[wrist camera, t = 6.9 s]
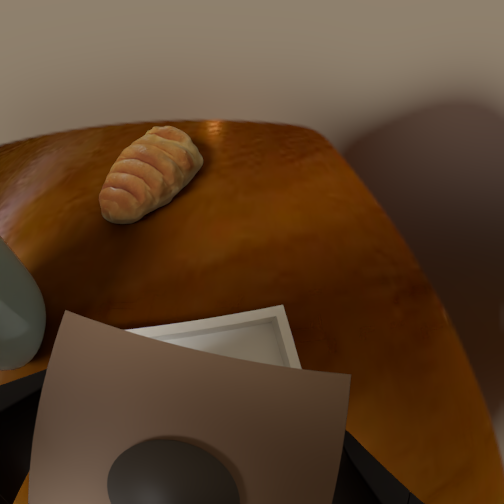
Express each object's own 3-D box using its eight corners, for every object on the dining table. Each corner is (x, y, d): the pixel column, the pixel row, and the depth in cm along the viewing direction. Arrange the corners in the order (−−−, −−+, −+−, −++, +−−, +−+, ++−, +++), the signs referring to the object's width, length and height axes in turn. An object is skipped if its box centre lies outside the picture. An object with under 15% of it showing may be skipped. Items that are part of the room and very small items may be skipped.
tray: (122, 530, 10) (115, 539, 8) (80, 342, 16) (69, 335, 14) (326, 495, 13) (338, 502, 11) (276, 313, 19) (283, 304, 17)
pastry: (146, 245, 20) (136, 214, 17) (84, 212, 21) (70, 181, 18) (208, 166, 25) (209, 133, 22) (149, 145, 26) (145, 113, 23)
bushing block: (240, 488, 12) (302, 605, 2) (138, 465, 12) (26, 540, 2) (257, 397, 16) (354, 373, 5) (156, 375, 15) (62, 307, 5)
